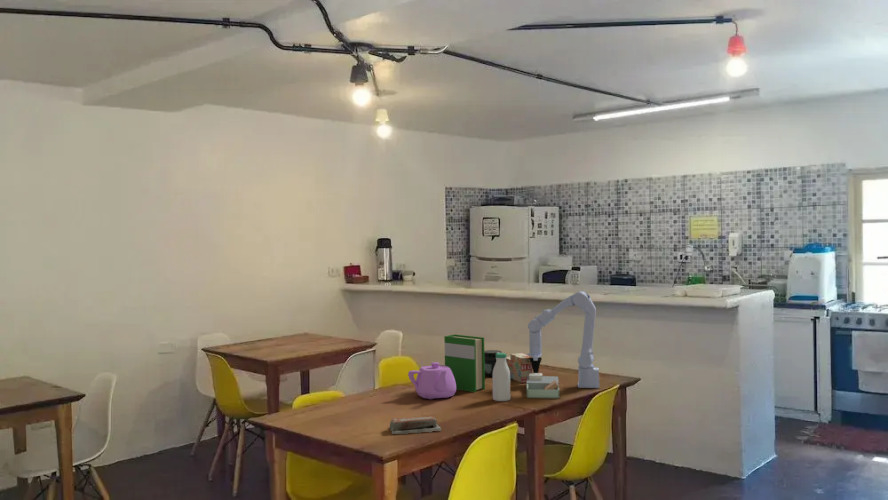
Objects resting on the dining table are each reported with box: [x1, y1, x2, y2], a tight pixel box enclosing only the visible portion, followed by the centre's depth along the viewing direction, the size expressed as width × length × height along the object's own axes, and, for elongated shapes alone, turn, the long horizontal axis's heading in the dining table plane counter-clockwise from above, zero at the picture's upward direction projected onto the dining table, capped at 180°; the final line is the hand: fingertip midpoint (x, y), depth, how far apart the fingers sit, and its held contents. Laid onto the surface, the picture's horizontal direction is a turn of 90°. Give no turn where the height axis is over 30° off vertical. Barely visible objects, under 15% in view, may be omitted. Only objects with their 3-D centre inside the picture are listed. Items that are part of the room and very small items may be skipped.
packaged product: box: [388, 416, 442, 435], centre depth 265 cm, size 18×5×10 cm
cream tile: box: [529, 372, 543, 380], centre depth 332 cm, size 6×6×2 cm
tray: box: [526, 384, 560, 399], centre depth 317 cm, size 14×12×4 cm
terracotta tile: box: [544, 380, 560, 390], centre depth 319 cm, size 6×6×2 cm
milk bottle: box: [492, 352, 512, 402], centre depth 309 cm, size 8×8×20 cm
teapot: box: [407, 361, 457, 400], centre depth 314 cm, size 23×21×15 cm
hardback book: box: [443, 334, 486, 393], centre depth 332 cm, size 18×7×24 cm, turn 50°
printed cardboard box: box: [506, 352, 533, 384], centre depth 353 cm, size 21×6×12 cm, turn 19°
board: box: [525, 375, 560, 390], centre depth 330 cm, size 14×15×4 cm
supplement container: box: [484, 349, 503, 378], centre depth 362 cm, size 10×10×12 cm
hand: (535, 373), depth 340 cm, fingers closed
